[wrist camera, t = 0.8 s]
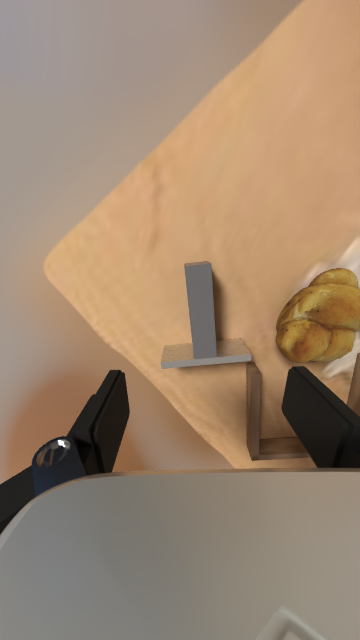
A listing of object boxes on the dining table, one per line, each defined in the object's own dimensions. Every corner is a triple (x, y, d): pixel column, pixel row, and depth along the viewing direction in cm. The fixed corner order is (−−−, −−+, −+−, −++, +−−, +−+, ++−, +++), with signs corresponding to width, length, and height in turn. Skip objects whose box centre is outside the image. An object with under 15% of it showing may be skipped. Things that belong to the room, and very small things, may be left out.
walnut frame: (365, 352, 30) (384, 363, 28) (346, 438, 36) (360, 454, 34) (246, 363, 31) (252, 374, 29) (246, 444, 38) (251, 460, 35)
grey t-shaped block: (239, 257, 26) (252, 258, 21) (241, 343, 31) (251, 360, 26) (151, 267, 27) (145, 271, 22) (165, 351, 31) (161, 368, 26)
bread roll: (315, 254, 26) (369, 255, 18) (368, 290, 27) (438, 305, 20) (255, 331, 30) (280, 358, 22) (304, 359, 31) (343, 394, 24)
